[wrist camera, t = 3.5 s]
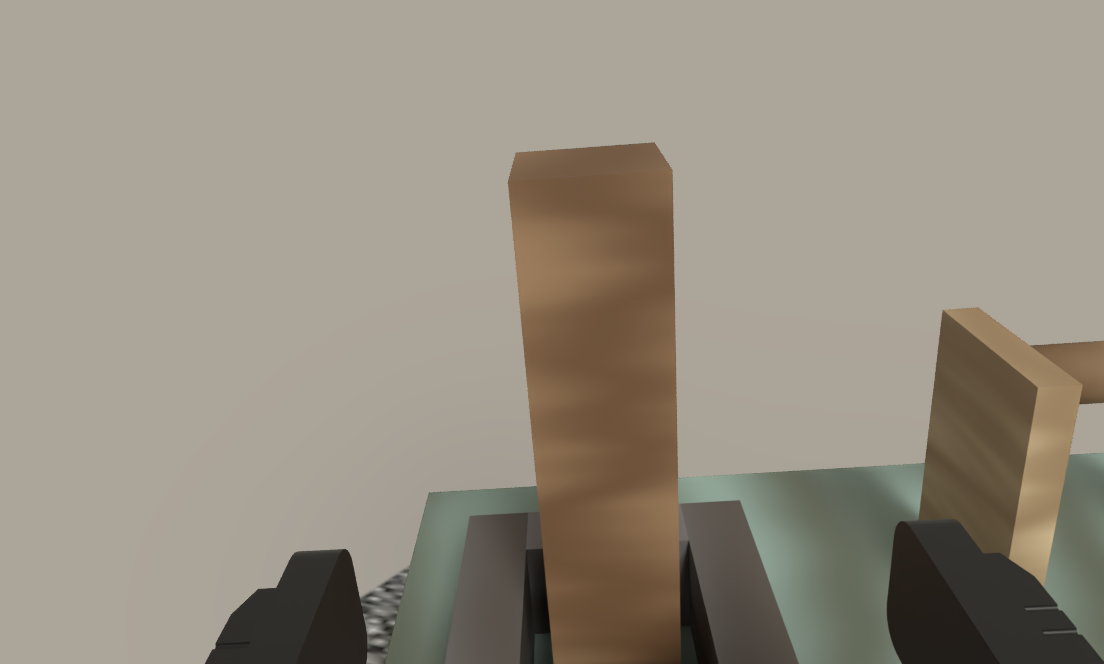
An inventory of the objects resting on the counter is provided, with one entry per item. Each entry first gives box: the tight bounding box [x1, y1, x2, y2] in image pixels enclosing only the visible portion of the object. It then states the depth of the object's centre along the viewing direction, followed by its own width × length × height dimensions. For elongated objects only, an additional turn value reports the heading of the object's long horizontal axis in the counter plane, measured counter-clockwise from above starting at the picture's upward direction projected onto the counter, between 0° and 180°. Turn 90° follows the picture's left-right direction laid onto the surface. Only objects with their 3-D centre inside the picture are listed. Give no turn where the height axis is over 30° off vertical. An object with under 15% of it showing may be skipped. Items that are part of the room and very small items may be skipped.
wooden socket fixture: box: [385, 308, 1104, 664], centre depth 24 cm, size 26×14×16 cm, turn 90°
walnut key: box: [508, 143, 681, 664], centre depth 19 cm, size 3×3×14 cm
